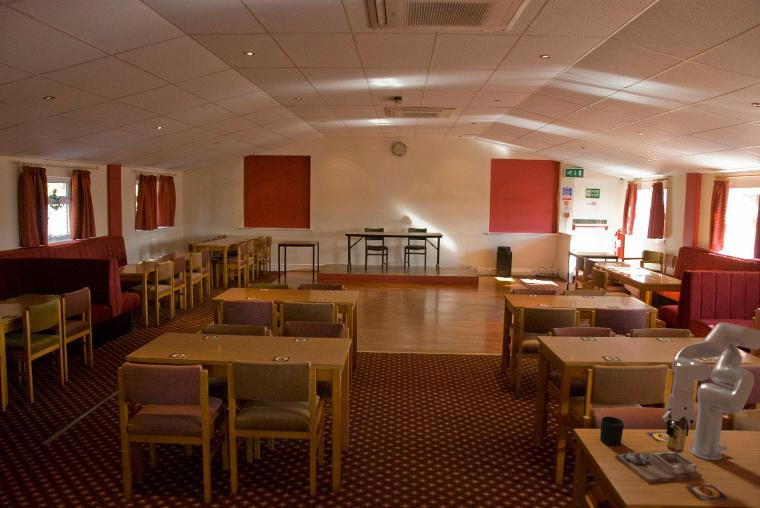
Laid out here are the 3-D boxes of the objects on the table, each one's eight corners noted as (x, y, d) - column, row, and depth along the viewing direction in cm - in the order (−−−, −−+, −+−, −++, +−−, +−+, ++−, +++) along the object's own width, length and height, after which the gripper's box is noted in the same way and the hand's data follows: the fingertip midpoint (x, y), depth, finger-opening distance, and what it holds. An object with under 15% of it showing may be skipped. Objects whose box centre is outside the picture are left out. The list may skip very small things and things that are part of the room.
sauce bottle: (663, 446, 231) (669, 400, 228) (677, 446, 231) (683, 401, 229) (672, 454, 224) (678, 407, 222) (687, 454, 225) (693, 407, 222)
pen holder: (626, 445, 249) (628, 424, 248) (609, 447, 246) (611, 426, 244) (611, 436, 258) (613, 415, 256) (594, 438, 255) (596, 417, 253)
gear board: (665, 454, 242) (666, 444, 242) (701, 478, 223) (702, 467, 222) (615, 457, 236) (616, 447, 236) (647, 482, 217) (648, 471, 217)
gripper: (693, 389, 231) (688, 430, 233) (657, 390, 227) (652, 432, 229) (707, 395, 223) (702, 438, 225) (670, 397, 219) (665, 440, 222)
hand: (677, 434), depth 227 cm, fingers closed on sauce bottle, 6 cm apart
